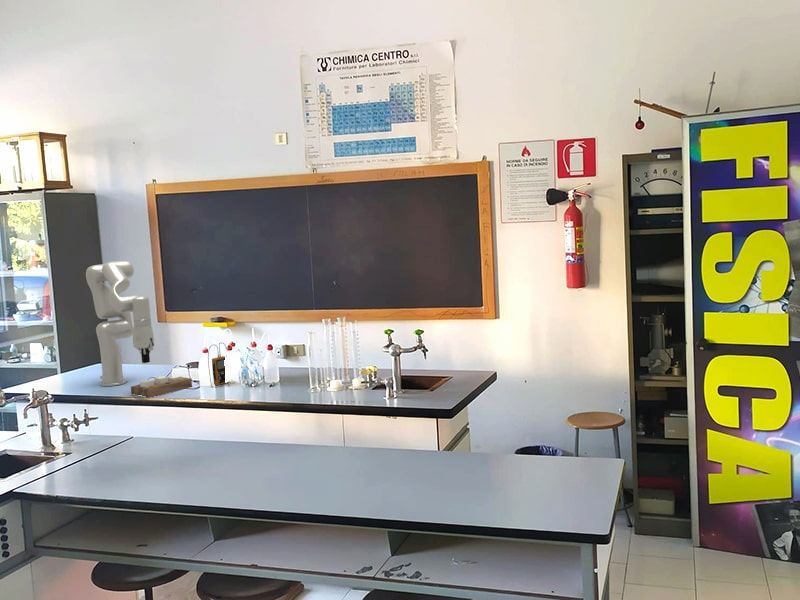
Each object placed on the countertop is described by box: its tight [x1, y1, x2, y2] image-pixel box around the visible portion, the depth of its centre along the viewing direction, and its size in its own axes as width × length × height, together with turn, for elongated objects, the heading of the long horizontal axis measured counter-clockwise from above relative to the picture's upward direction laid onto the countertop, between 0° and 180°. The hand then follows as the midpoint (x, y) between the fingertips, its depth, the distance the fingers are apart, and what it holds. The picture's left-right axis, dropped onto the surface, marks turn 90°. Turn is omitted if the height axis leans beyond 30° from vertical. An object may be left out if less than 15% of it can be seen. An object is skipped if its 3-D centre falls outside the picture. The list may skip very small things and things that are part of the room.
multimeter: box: [207, 342, 230, 388], centre depth 365 cm, size 15×10×20 cm
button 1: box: [139, 379, 154, 388], centre depth 353 cm, size 4×4×5 cm
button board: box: [130, 375, 193, 398], centre depth 359 cm, size 14×24×4 cm, turn 145°
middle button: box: [153, 375, 169, 384], centre depth 359 cm, size 4×4×5 cm
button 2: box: [167, 375, 183, 380], centre depth 366 cm, size 4×4×5 cm
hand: (146, 362), depth 352 cm, fingers closed
